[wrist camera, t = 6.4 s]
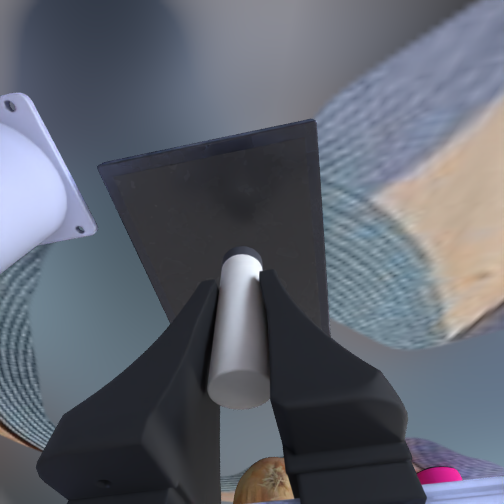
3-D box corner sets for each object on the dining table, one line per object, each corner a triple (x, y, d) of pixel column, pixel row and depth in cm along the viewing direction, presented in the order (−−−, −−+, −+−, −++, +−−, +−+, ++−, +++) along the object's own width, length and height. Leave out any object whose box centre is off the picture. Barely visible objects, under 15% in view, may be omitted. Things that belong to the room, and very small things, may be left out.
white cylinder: (227, 282, 15) (215, 415, 9) (217, 249, 14) (196, 374, 8) (265, 275, 15) (280, 406, 9) (258, 242, 14) (269, 364, 8)
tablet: (201, 377, 26) (199, 387, 25) (103, 162, 16) (94, 166, 15) (329, 358, 25) (333, 368, 24) (312, 118, 15) (317, 120, 14)
